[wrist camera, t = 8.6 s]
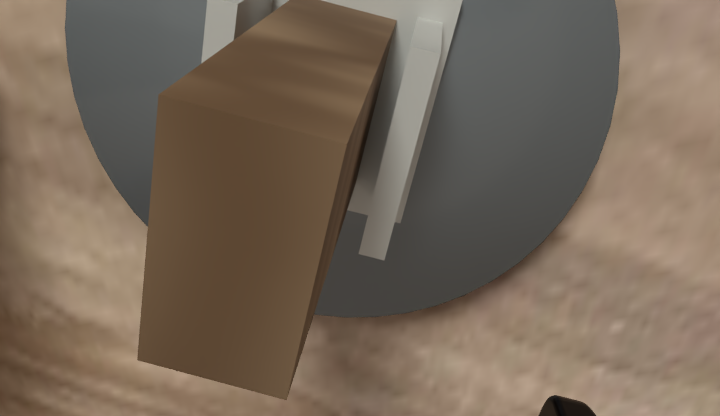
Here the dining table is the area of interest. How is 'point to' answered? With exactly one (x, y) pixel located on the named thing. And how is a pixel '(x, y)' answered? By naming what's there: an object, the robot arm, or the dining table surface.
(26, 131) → the dining table surface
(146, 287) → the brown wooden block
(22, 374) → the dining table surface
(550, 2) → the grey flat bracketed disc
